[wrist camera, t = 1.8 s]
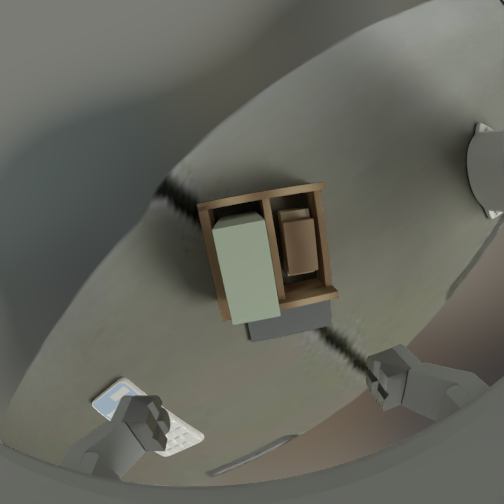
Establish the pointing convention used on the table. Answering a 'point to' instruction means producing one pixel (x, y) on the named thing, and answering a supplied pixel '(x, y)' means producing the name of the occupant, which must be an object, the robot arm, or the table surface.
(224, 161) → the table surface
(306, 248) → the offcut upper
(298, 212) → the offcut lower
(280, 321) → the mat
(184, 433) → the calculator
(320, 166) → the table surface
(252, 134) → the table surface
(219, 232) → the sage green thick block
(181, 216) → the table surface
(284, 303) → the rack
